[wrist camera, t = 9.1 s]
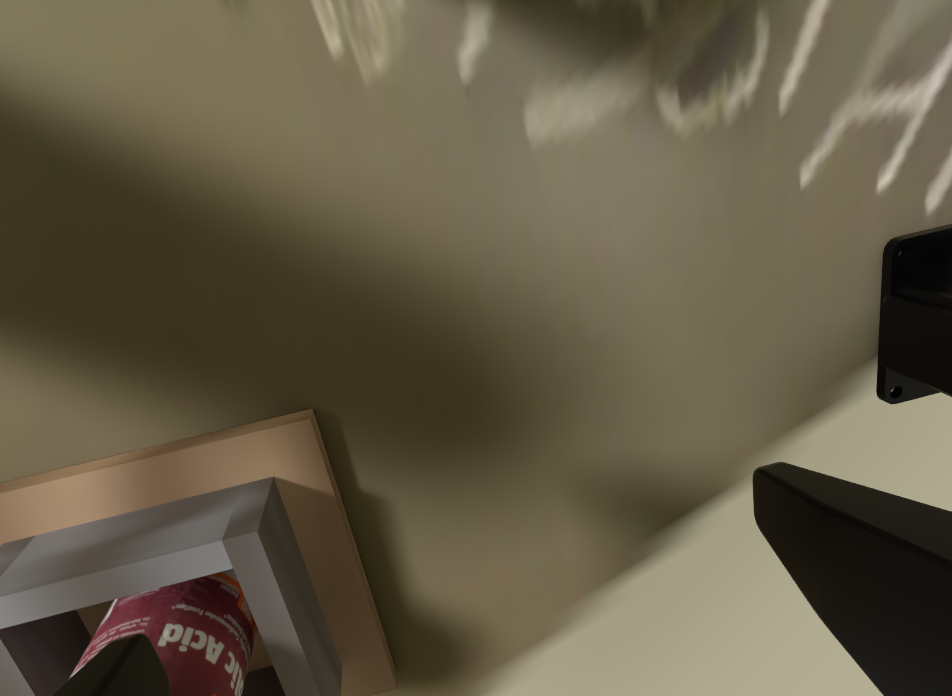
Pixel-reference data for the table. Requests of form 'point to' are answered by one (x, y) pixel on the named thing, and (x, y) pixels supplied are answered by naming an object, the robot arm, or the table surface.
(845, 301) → the table surface
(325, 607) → the bottle holder
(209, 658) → the pill bottle
